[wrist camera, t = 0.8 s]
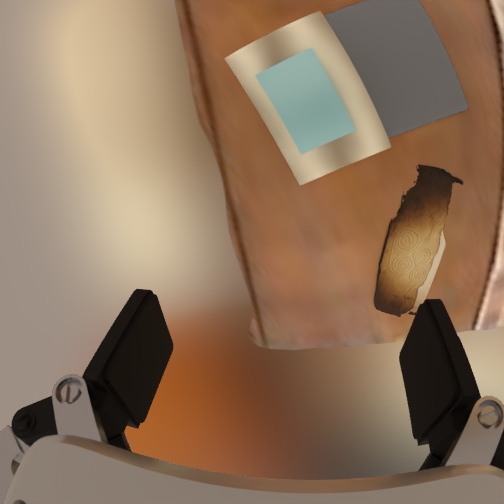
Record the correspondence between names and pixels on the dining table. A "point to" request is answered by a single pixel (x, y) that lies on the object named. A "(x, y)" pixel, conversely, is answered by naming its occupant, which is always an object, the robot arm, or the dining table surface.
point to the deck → (342, 77)
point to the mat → (399, 62)
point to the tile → (306, 101)
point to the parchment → (414, 243)
